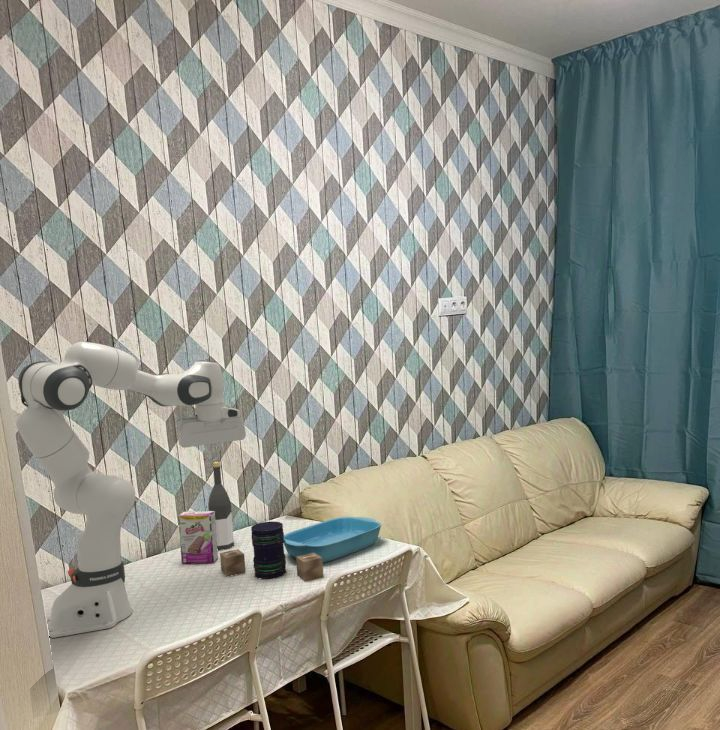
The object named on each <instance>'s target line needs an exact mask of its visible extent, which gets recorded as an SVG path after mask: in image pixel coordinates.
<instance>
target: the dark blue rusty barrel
mask: <svg viewBox="0 0 720 730" xmlns="http://www.w3.org/2000/svg"><path fill="white" fill-rule="evenodd" d="M283 528H284V524H283V523H282V522H280V521H263V522H259V523H258V522H257V523H255V524H253V525H252V526H251V527H250V530H251V544H252V548H253V560H252V561H253V569H254V570H253V571H254V577H255V578H256V577H257V578H256V579H258V578H261V579H260V580H274V579H273V578H275V579H278V577H279V578H281V577H284V576H285V575H286V574H287V569H286V568H287V567H286V566H287V565H286V564H287V561H286V554H285V546H284V535H285V533H284V529H283ZM285 573H286V574H285ZM284 574H285V575H284Z"/></svg>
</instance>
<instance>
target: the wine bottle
mask: <svg viewBox="0 0 720 730" xmlns="http://www.w3.org/2000/svg"><path fill="white" fill-rule="evenodd" d="M212 470H213V481H214V483H213V485H212V486H213V487H212V489H211V492H210V494H209V496H208V497H209V498H208V504H207V505H208V507H207V508H208V511H215V522H216V537H217V549H224V550H228V549H227V548H229V549H231V548H233V547H234V546H235V540H234V525H233V514H232V502H231V499H230V497H229V494H228V492H227V490H226V488H224V486H223V484H222V477H221V475H222V474H221V472H222V471H221V465H220V462H219V461H215V462H213V466H212ZM232 546H233V547H232ZM230 547H231V548H230Z"/></svg>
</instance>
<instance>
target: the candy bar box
mask: <svg viewBox="0 0 720 730" xmlns="http://www.w3.org/2000/svg"><path fill="white" fill-rule="evenodd" d="M177 518H178V519H177V520H178V530H179V531H178V533H179V542H180V556H181V558H180V559H181V564H182V565H186V563H188V564H190V563H195V564H214V563H215V562H216V561H217V560H218V559H219V552H218V551H219V550H217V537H216V522H215V511H209V510H206V511H205V510H204V511H203V510H202V511H183V512H181V513H180V514H179V515H178V517H177ZM216 559H217V560H216ZM188 564H187V565H188ZM190 565H191V564H190Z"/></svg>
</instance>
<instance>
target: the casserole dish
mask: <svg viewBox="0 0 720 730" xmlns="http://www.w3.org/2000/svg"><path fill="white" fill-rule="evenodd" d="M381 528H382V523H381V522H379V521H377V520H376V519H375V518H371V517H365V516H340V517H339V516H338V517H335V518H330V519H327V520H324V521H321V522H319V523H315V524H311V525H308V526H305V527H302V528H298V529H296V530H293V531H290V532H288V533H286V534H285V533H284V543H283V546H284V549H285V550H286V552H287V553H288V555H290V556H291V557H293V558H294V559H296V557H297V556H301V555H306V554H310V553H315V554H317V555H319V556H320V557H322V562H323V564H324V563H328V562H331V561H334V560H337V559H341V558H343V557H345V556H347V555H350V554H353V553H356V552H359V551H361V550H363V549H366V548H369V547H371V546H372V545H374V544H375V543H376V542H377V540H378V538H379V534H380V531H381Z"/></svg>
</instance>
